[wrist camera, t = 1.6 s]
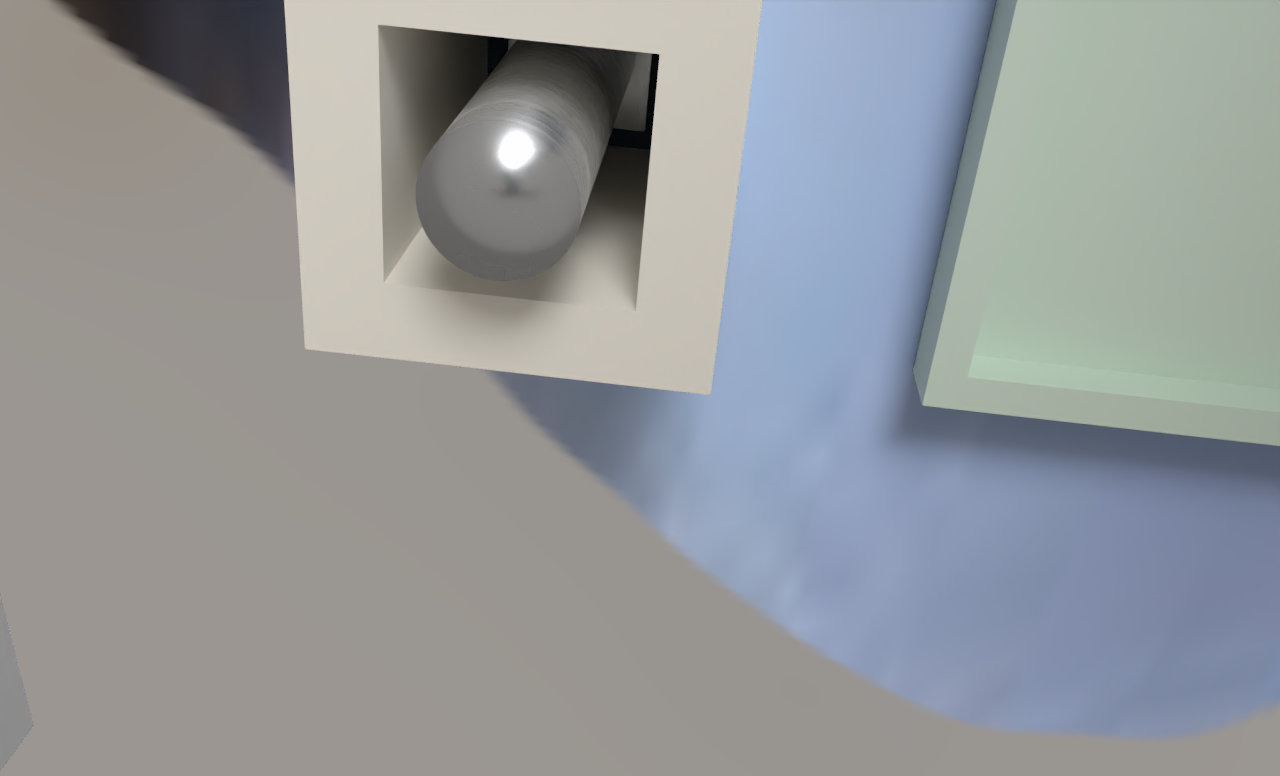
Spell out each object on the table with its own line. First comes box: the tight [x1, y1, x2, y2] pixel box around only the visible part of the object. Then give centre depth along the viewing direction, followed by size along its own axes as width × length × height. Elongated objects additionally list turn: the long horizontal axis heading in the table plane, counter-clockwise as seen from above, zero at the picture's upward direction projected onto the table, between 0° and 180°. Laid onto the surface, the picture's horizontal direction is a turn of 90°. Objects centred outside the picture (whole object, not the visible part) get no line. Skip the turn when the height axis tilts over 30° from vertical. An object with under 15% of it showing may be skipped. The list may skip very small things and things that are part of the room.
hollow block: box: [284, 0, 763, 395], centre depth 25 cm, size 8×8×10 cm
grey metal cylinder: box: [416, 38, 652, 281], centre depth 25 cm, size 4×4×12 cm
